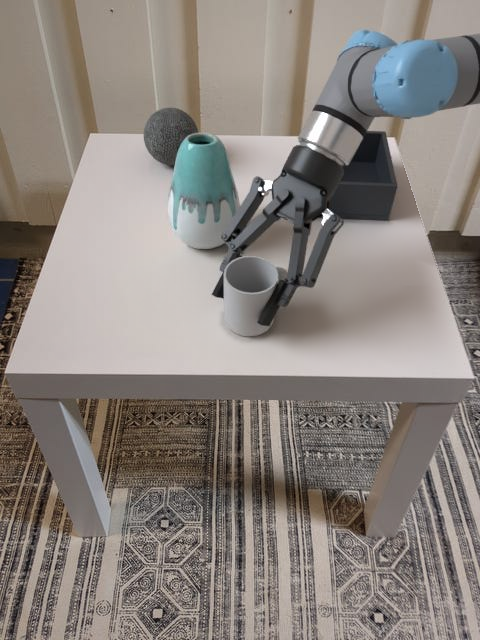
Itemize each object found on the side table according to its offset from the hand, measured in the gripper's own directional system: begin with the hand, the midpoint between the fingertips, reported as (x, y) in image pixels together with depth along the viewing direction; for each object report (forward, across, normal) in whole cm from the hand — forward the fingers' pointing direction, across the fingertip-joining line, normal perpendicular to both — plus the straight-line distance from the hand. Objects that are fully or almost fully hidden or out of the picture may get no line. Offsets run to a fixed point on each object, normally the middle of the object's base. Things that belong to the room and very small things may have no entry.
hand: (240, 310), depth 77 cm
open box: (-24, +6, -29) cm, 38 cm away
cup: (0, 0, -5) cm, 5 cm away
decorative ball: (-14, +36, -20) cm, 43 cm away
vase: (-6, +17, -11) cm, 21 cm away
